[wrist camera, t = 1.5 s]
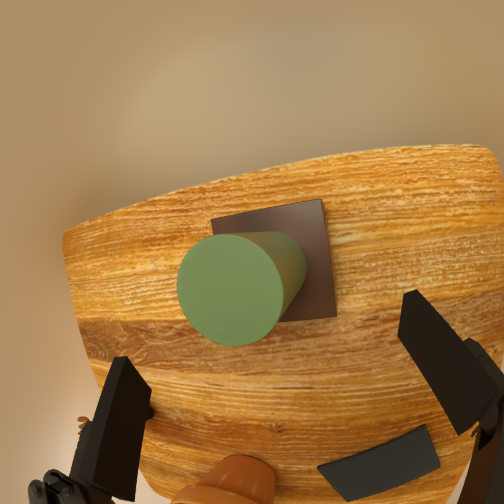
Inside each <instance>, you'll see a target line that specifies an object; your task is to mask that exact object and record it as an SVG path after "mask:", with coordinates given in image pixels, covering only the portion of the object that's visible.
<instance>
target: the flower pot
mask: <svg viewBox="0 0 504 504" xmlns="http://www.w3.org/2000/svg"><path fill="white" fill-rule="evenodd" d="M274 492H275V473H274V471H273V470H272V468H271V467H270V466H269V465H267V464H266V463H264V462H262V461H261V460H258V459H256V458H253V457H248V456H244V455H233V456H229V457H227V458H225V459H224V460H223V461H221V462H220V463H219V464H218V465H217V466H216V467H215V468H214V469H212V470H211V471H210V472H209V473H208V474H207V475H206V476H205V477H203V478H202V479H201V480H200V481H199V482H198V483H197V484H195V485H190V486H187V487H185V488H183V489H182V490H181V491H180V492H179V493H178V494H177V495H176V497H175V498H174V499H173V500H172V502H171V503H170V504H273V503H274Z"/></svg>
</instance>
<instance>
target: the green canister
mask: <svg viewBox="0 0 504 504" xmlns="http://www.w3.org/2000/svg"><path fill="white" fill-rule="evenodd" d="M306 274H307V260H306V256H305V254H304V251H303V250H302V248H301V246H300V245H299V244H298V243H297V242H296V241H295V240H294V239H293V238H291V237H290V236H288V235H286V234H284V233H280V232H275V231H268V232H247V233H227V234H217V235H213V236H209V237H207V238H205V239H202V240H201V241H199V242H198V243H196V244H195V245H194V246H193V247H192V248H191V249H190V250H189V251H188V252H187V254H186V255H185V257H184V259H183V261H182V263H181V265H180V268H179V271H178V277H177V293H178V299H179V303H180V306H181V308H182V311H183V313H184V315H185V316H186V318H187V320H188V321H189V322H190V324H191V325H192V326H193V327H194V328H195V329H196V330H197V331H198V332H199V333H200V334H201V335H203V336H204V337H206V338H207V339H209V340H211V341H213V342H215V343H218V344H221V345H226V346H245V345H249V344H252V343H254V342H257V341H259V340H260V339H262V338H264V337H265V336H266V335H267V334H268V333H269V332H270V331H271V330H272V329H273V328H274V326H275V325H276V323H277V322H278V321H279V319H280V318H281V316H282V315H283V313H284V312H285V310H286V309H287V307H288V306H289V304H290V303H291V302H292V300H293V299H294V297H295V296H296V294H297V292H298V291H299V289H300V288H301V286H302V285H303V283H304V281H305V278H306Z"/></svg>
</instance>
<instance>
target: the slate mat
mask: <svg viewBox="0 0 504 504" xmlns="http://www.w3.org/2000/svg"><path fill="white" fill-rule="evenodd" d="M438 468H440V463H439V461H438V458H437V455H436V452H435V449H434V447H433V444H432V442H431V439H430V436H429V434H428V431H427V429H426V426H425V424H424V425H422V426H420V427H418V428H416V429H414V430H412V431H410V432H408V433H406V434H404V435H402V436H399V437H397V438H395V439H393V440H390V441H388V442H386V443H383V444H381V445H379V446H376V447H374V448H371V449H369V450H366V451H363V452H360V453H358V454H355V455H352V456H349V457H346V458H343V459H340V460H337V461H333V462H330V463H327V464H323V465H319V466H317V469H318V470H319V472H320V473H321V474H322V475H323V476H324V477H325V478H326V480H327V481H328V482H329V483H330V484H331V485H332V486H333V487H334V489H335V490H336V491H337V492H338V493H339V494H340V495H341V496H342V497H343V498H344V499H345V500H346V501H347V502H350V501H354V500H357V499H361V498H364V497H368V496H371V495H374V494H377V493H380V492H383V491H386V490H389V489H392V488H394V487H397V486H400V485H402V484H405V483H407V482H410V481H412V480H414V479H417V478H419V477H421V476H423V475H426V474H428V473H430V472H432V471H434V470H436V469H438Z"/></svg>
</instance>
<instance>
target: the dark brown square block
mask: <svg viewBox="0 0 504 504" xmlns="http://www.w3.org/2000/svg"><path fill="white" fill-rule="evenodd" d="M211 223H212V229H213V235H217V234H227V233H247V232H268V231H275V232H280V233H284V234H286V235H288V236H290V237H291V238H293V239H294V240H295V241H296V242H297V243H298V244H299V245H300V246H301V248H302V250H303V251H304V254H305V256H306V260H307V274H306V278H305V281H304V283H303V285H302V286H301V288H300V289H299V291H298V292H297V294H296V296H295V297H294V299H293V300H292V302H291V303H290V304H289V306H288V307H287V309H286V310H285V312H284V313H283V315H282V316H281V318H280V319H279V321H278V322H289V321H301V320H312V319H321V318H331V317H337V309H338V299H337V290H336V281H335V273H334V265H333V257H332V250H331V243H330V236H329V230H328V224H327V218H326V212H325V206H324V203H323V201H322V200H321V199H314V200H308V201H303V202H297V203H291V204H286V205H280V206H275V207H270V208H264V209H259V210H254V211H249V212H244V213H239V214H234V215H229V216H224V217H219V218H214V219H211Z"/></svg>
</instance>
